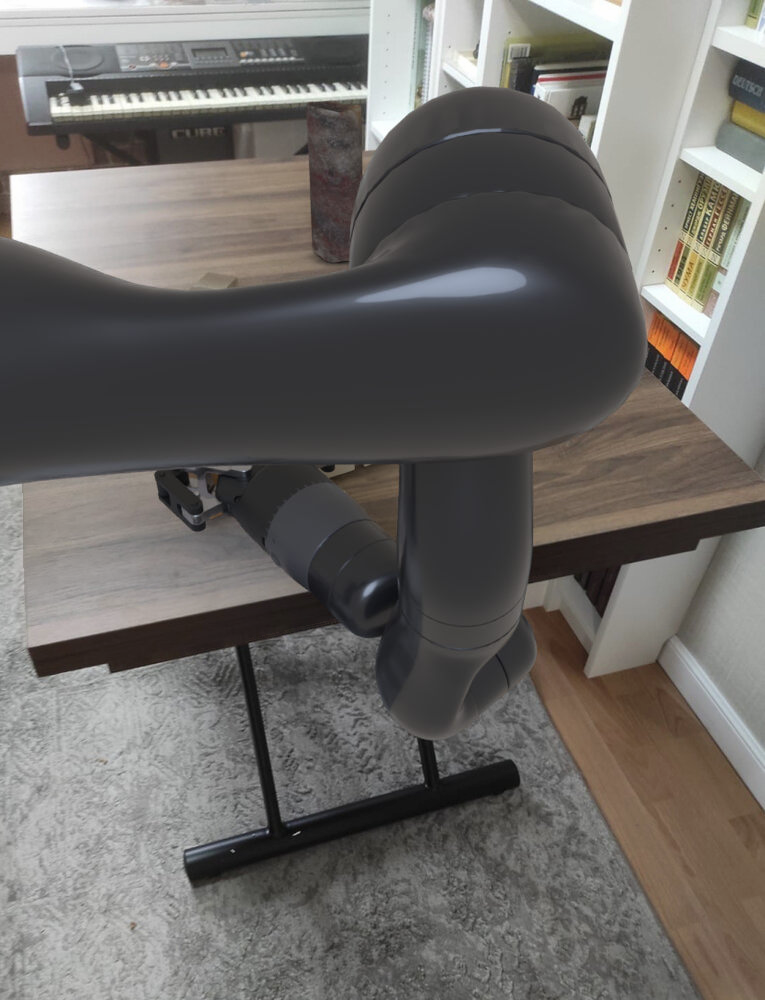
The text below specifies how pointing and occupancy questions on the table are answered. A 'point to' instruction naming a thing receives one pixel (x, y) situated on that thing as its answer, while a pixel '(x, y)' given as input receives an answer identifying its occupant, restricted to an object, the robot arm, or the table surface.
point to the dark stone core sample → (333, 174)
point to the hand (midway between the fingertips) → (204, 428)
